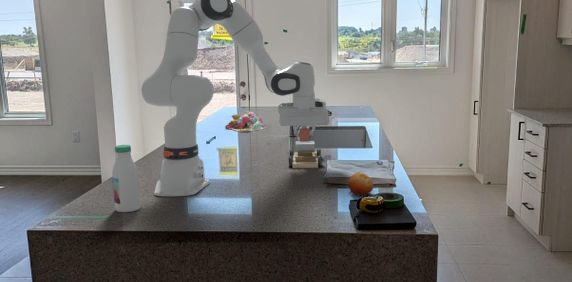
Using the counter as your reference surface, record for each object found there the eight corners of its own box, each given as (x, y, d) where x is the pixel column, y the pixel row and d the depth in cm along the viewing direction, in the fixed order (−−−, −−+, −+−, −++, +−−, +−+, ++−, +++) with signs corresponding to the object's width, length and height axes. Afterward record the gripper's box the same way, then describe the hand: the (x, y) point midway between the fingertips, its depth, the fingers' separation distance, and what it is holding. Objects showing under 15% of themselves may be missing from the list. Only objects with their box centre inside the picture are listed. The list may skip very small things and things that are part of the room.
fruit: (351, 184, 175) (362, 166, 171) (369, 199, 171) (380, 181, 167) (338, 190, 168) (349, 171, 164) (356, 205, 165) (367, 187, 161)
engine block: (309, 141, 206) (309, 127, 205) (299, 141, 206) (299, 127, 205) (309, 139, 211) (309, 125, 210) (299, 139, 211) (299, 125, 210)
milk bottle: (143, 204, 163) (138, 142, 159) (137, 212, 155) (132, 148, 151) (119, 205, 163) (113, 143, 159) (112, 213, 155) (105, 148, 151)
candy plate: (218, 128, 300) (217, 112, 298) (249, 123, 315) (248, 108, 314) (244, 133, 282) (243, 116, 280) (276, 127, 297) (276, 111, 296)
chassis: (322, 167, 203) (321, 150, 201) (288, 168, 203) (288, 151, 202) (320, 156, 222) (320, 140, 221) (290, 156, 223) (289, 141, 222)
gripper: (277, 104, 202) (278, 138, 205) (329, 103, 202) (329, 137, 205) (278, 102, 209) (279, 135, 212) (328, 100, 208) (328, 134, 211)
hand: (304, 136), depth 208 cm, fingers closed on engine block, 4 cm apart
